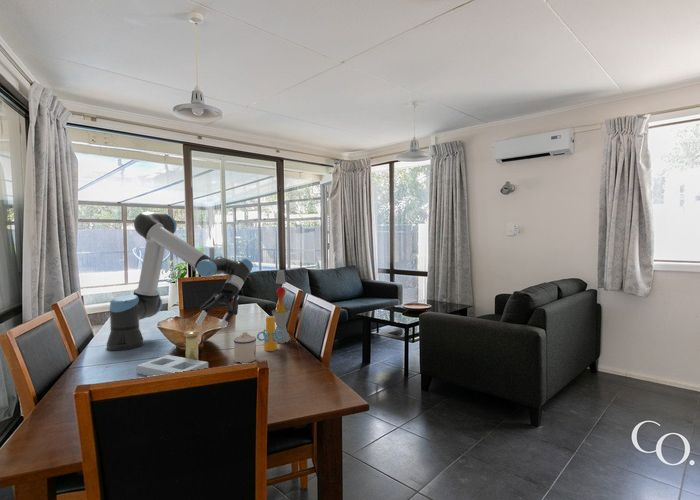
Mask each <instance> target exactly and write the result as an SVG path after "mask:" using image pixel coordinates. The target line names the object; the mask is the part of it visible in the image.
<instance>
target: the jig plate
mask: <svg viewBox="0 0 700 500" xmlns="http://www.w3.org/2000/svg"><path fill="white" fill-rule="evenodd" d="M204 368H208V369H209V362H208V361H204V360H199V359H198V360H194V359H188V358H186V357H182V356H177V355H176V356H175V355H170V354H167V355H164V356H161V357H158V358H155V359H152V360H149V361H146V362H143V363H139V364H136V374H139V375H144V376H149V377H151V376H150V375H160V374H168V373H175V372H183V371H190V370H197V369H204Z"/></svg>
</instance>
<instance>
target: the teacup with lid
mask: <svg viewBox="0 0 700 500" xmlns="http://www.w3.org/2000/svg"><path fill="white" fill-rule="evenodd" d="M256 341H257V337H256V336H255V335H254V336H253V335H251V334H248V332H247V331H244V332H242V334H240V335H239V336H237V337H236V336H235V338H234V339H233V342H234V345H233V346H234V361H235V362H236V363H237V362H240V363H239V364H247V363H252V362H254V361H256V359H257V352H256V351H257V348H256V346H257V345H256V343H257V342H256Z"/></svg>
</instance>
